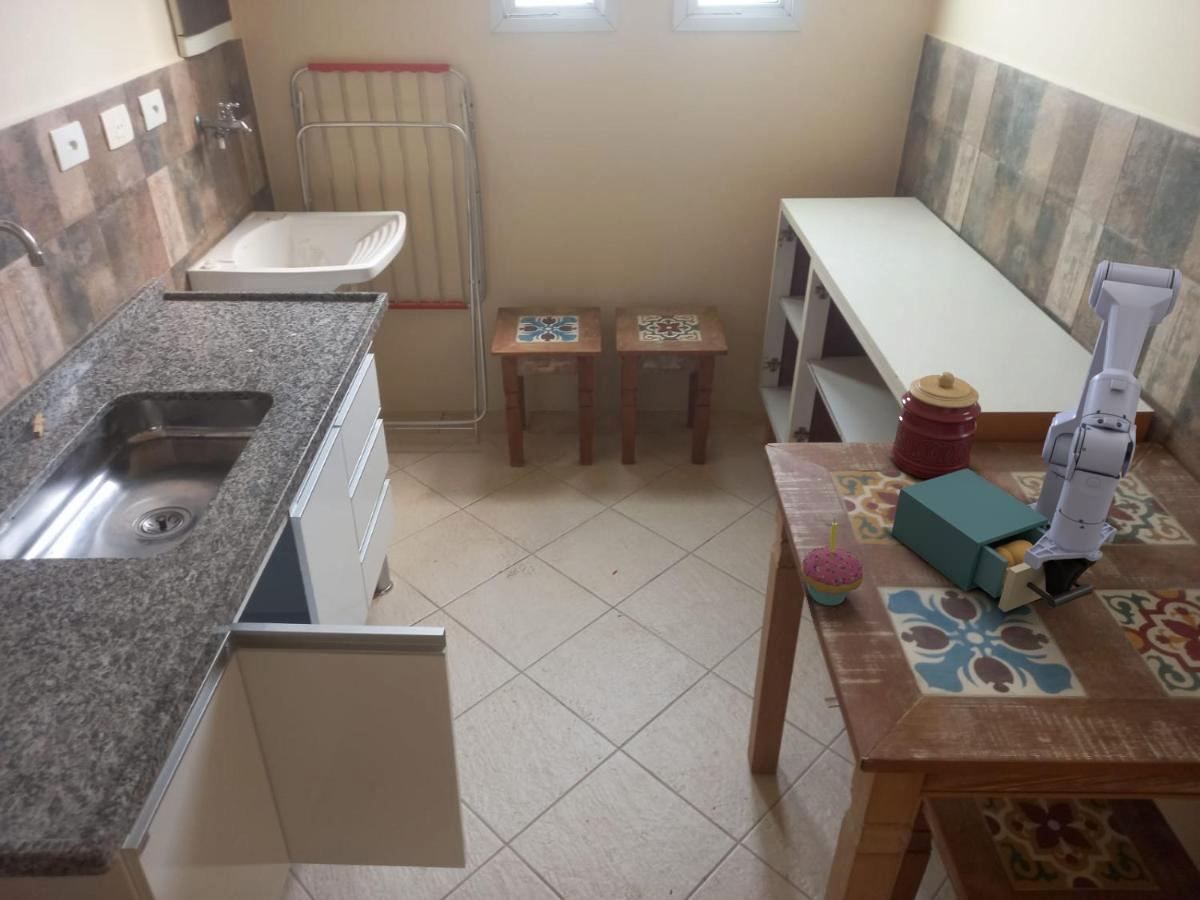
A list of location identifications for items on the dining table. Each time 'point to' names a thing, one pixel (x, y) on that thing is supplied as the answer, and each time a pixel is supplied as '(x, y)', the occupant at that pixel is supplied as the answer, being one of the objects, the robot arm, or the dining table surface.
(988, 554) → the drawer
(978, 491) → the cabinet
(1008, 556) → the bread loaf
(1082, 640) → the dining table surface
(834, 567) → the cupcake
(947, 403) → the kitchen canister
